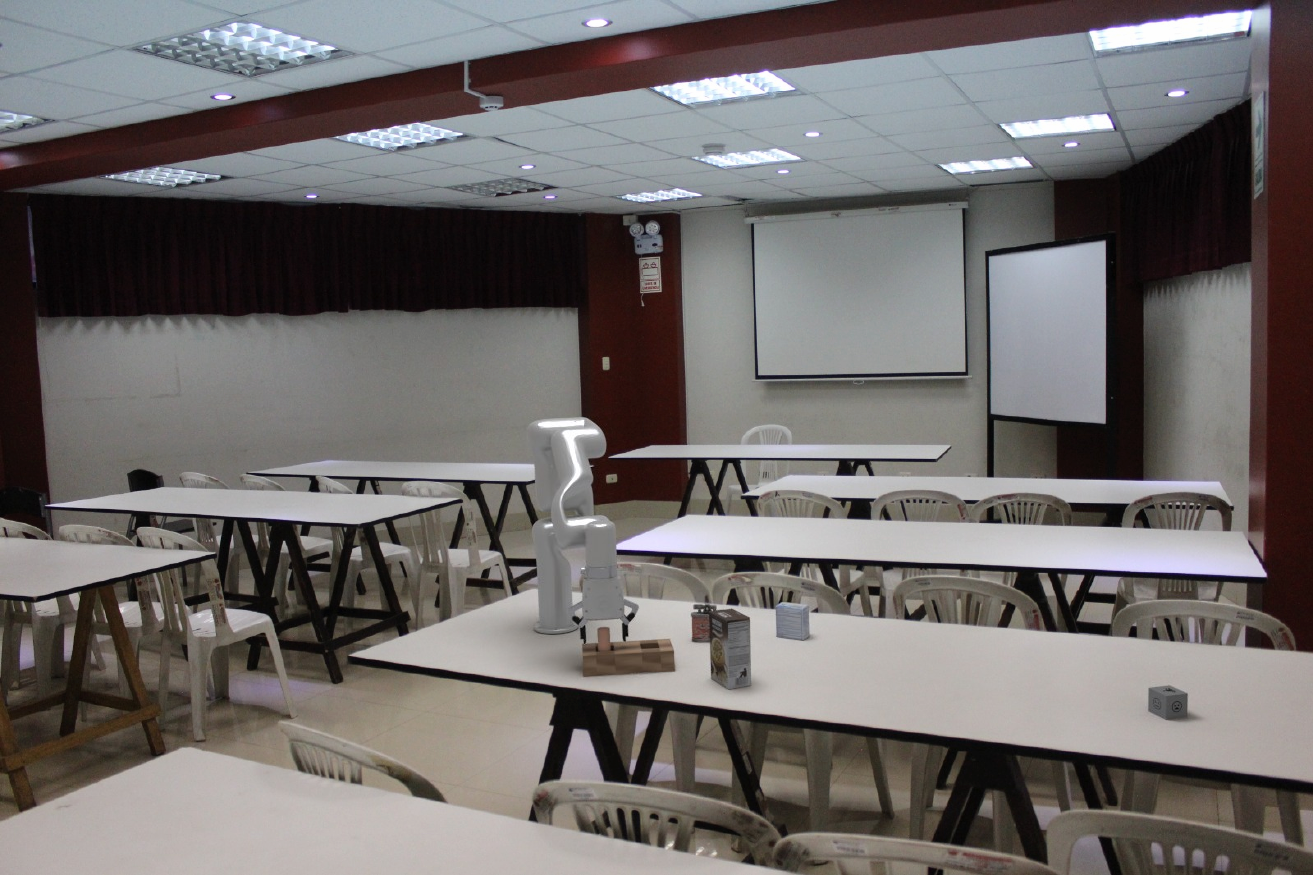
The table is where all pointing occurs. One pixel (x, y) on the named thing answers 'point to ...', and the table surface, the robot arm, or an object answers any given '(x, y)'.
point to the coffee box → (730, 648)
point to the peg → (603, 639)
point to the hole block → (628, 657)
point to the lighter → (701, 623)
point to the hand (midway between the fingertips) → (604, 640)
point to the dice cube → (1167, 702)
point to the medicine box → (792, 621)
